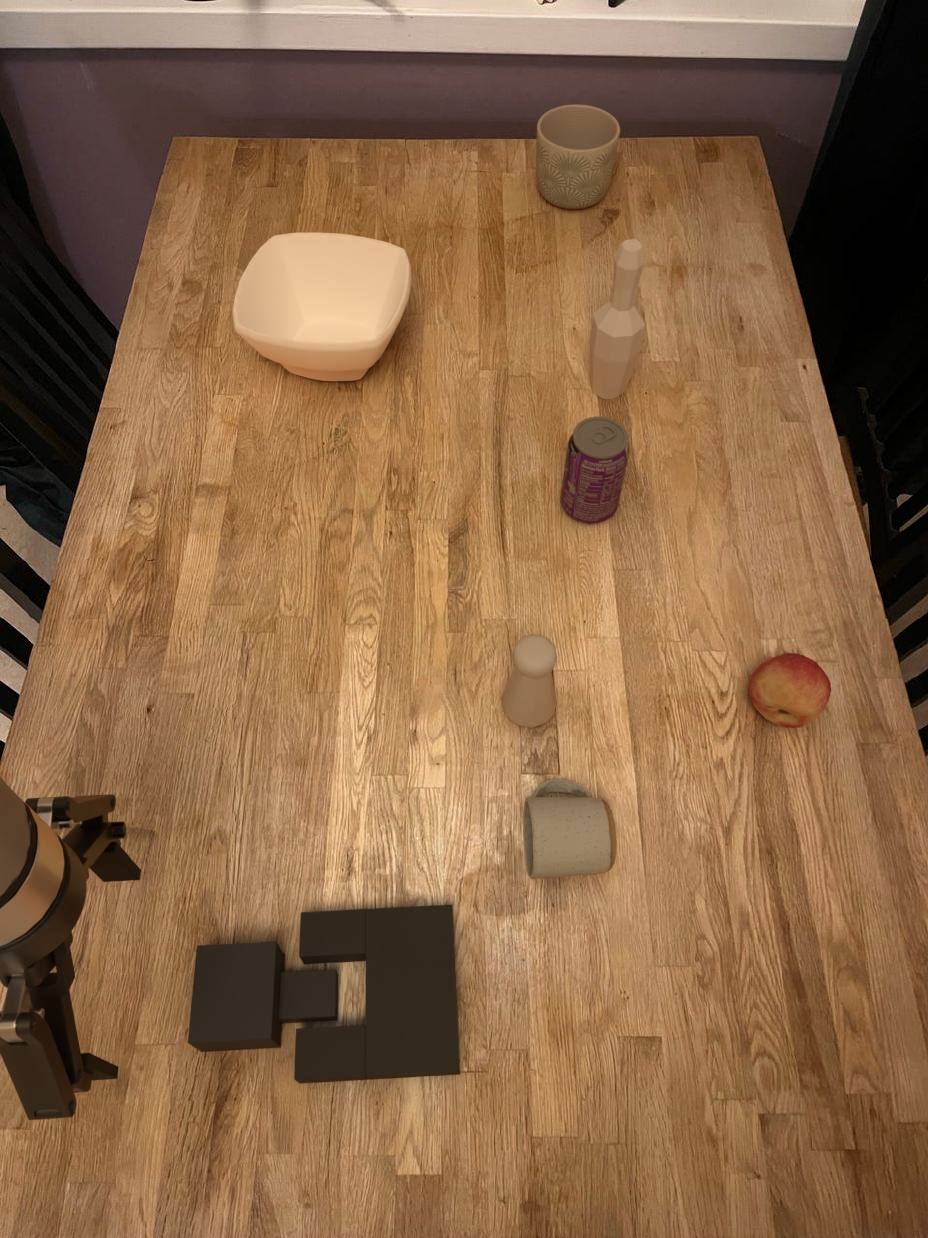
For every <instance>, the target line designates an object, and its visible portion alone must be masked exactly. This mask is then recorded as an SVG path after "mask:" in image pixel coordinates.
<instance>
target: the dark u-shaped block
mask: <svg viewBox="0 0 928 1238" xmlns="http://www.w3.org/2000/svg"><path fill="white" fill-rule="evenodd" d="M454 930H455V929H454V911H453V904H452V903H451V904H432V905H431V904H430V905H414V906H397V907H396V906H395V907H393V906H392V907H376V908H375V907H374V908H357V909H339V910H338V909H336V910H322V911H321V910H319V911H301V912H300V919H299V946H298V947H299V948H298V950H299V951H298V957H299V959H300V961H301V962H302V964H303V965H319V964H336V963H354V962H356V963H358V962H365V1024H357V1025H356V1024H355V1025H334V1026H320V1027H319V1026H318V1027H301V1028H298V1027H297V1028H296V1029H295V1047H294V1071H293V1072H294V1073H293V1074H294V1075H293V1078H294V1081H296V1082H297V1083H298V1084H300V1085H301V1084H316V1083H317V1084H319V1083H334V1082H335V1083H336V1082H352V1081H353V1082H354V1081H367V1080H369V1081H370V1080H372V1081H373V1080H385V1079H386V1080H390V1079H406V1078H408V1079H409V1078H423V1077H424V1078H425V1077H441V1076H442V1077H443V1076H457V1075H461V1066H460V1065H461V1064H460V1063H461V1062H460V1041H459V1021H458V997H457V976H456V975H457V974H456V956H455V954H456V953H455V932H454Z"/></svg>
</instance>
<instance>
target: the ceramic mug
mask: <svg viewBox="0 0 928 1238" xmlns="http://www.w3.org/2000/svg"><path fill="white" fill-rule="evenodd" d="M536 787H537V788H536V789H535V790H534V792H533V794H532V796H528V797H526V798H525V799H524V801H523V811H522V838H523V853H524V862H525V867H526V872H527V876H528V877H529V878H530V879H532V880H539V879H552V878H554V879H555V878H568V877H569V878H570V877H580V876H581V877H582V876H596V875H600V874H605V873H608V872H609V871H611V869H612V868H613V867H614V865H615V864H616V859H617V830H616V824H615V823H616V822H615V817H614V813H613V810H612V808H611V806H610V804H609V803H608V802H607V801H606V800H605V799H602V798H599V797H598V798H597V797H592V796H591V793H590V792H589V791H588V789H586V787H585V786H583V785H581V784H580V783H578V782H576V781H574V780H571V779H564V778H553V779H548V780H544V781H543V782H541V784H539V785H538V786H536ZM549 793H561V794H563V793H564V794H570V795H571V794H572V795H575V796H576V797H575V796H574V797H573V796H572V797H563V796H561V797H559V796H556V797H555V796H543V795H545V794H549Z"/></svg>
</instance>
